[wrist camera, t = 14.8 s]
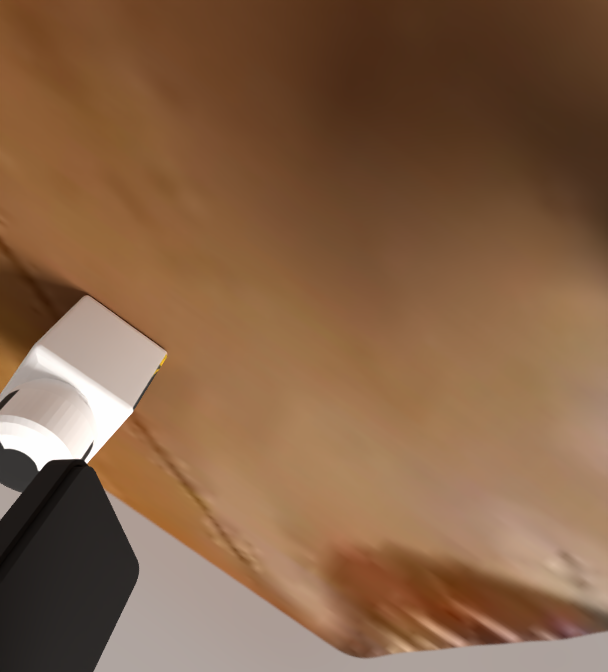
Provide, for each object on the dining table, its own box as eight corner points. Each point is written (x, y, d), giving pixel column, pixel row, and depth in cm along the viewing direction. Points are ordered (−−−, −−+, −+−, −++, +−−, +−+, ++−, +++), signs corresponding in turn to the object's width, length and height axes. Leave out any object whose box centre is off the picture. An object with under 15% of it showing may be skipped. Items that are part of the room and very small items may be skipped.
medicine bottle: (123, 406, 45) (44, 527, 35) (44, 352, 43) (-63, 463, 33) (170, 351, 42) (99, 467, 31) (87, 291, 40) (-17, 393, 30)
